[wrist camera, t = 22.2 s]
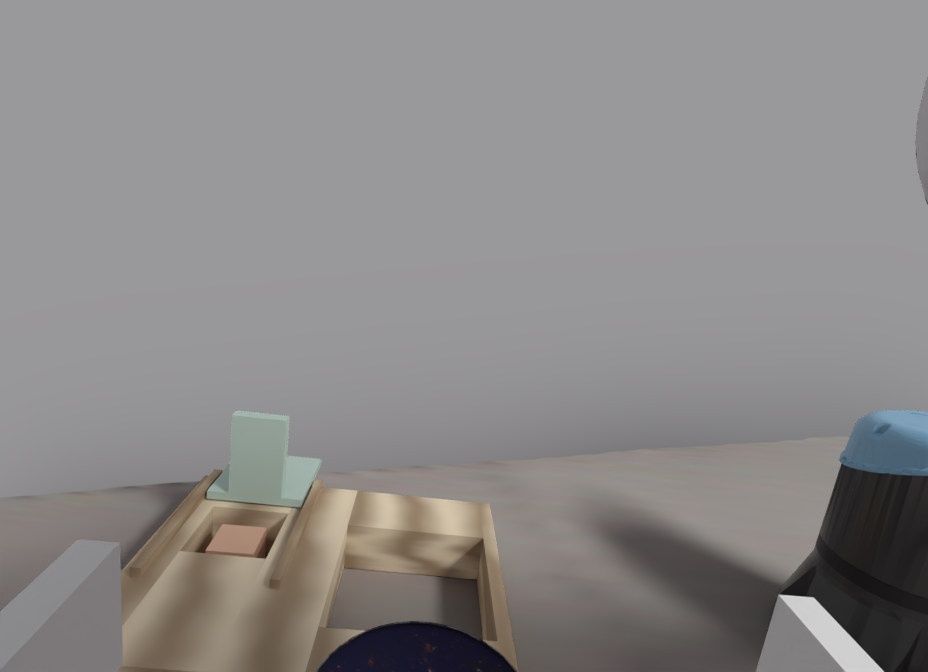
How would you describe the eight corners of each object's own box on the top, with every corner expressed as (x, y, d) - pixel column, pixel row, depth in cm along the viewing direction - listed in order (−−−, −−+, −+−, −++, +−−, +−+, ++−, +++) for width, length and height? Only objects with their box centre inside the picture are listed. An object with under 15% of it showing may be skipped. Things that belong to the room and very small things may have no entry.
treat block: (264, 565, 52) (266, 527, 51) (251, 594, 48) (253, 554, 47) (220, 562, 51) (222, 524, 50) (203, 591, 47) (205, 550, 47)
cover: (320, 465, 62) (327, 392, 60) (301, 507, 53) (308, 423, 51) (239, 457, 61) (243, 382, 59) (206, 498, 52) (209, 412, 51)
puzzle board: (483, 541, 60) (490, 497, 59) (512, 752, 37) (524, 685, 36) (203, 515, 58) (205, 468, 57) (44, 721, 34) (42, 649, 33)
